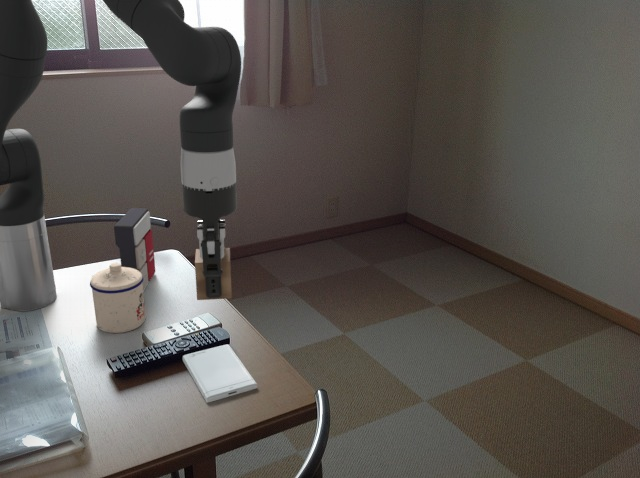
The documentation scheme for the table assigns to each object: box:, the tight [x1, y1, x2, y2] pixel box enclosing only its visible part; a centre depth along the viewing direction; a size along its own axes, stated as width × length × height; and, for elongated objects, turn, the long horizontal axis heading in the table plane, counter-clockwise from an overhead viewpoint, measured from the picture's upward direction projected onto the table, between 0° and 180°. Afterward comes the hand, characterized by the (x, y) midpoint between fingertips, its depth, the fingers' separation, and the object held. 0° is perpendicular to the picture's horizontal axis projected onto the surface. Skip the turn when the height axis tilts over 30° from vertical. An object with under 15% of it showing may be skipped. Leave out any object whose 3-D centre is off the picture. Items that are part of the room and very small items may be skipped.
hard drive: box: [182, 344, 258, 404], centre depth 95 cm, size 2×8×12 cm
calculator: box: [113, 207, 156, 292], centre depth 120 cm, size 11×4×15 cm, turn 179°
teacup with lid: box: [89, 262, 146, 334], centre depth 108 cm, size 12×9×12 cm
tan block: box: [194, 247, 233, 301], centre depth 87 cm, size 5×5×6 cm
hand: (214, 287), depth 88 cm, fingers closed on tan block, 5 cm apart
